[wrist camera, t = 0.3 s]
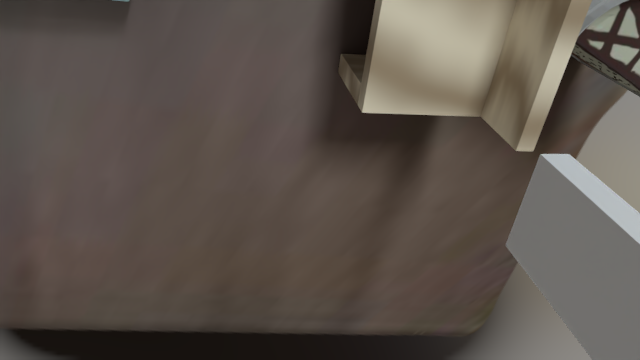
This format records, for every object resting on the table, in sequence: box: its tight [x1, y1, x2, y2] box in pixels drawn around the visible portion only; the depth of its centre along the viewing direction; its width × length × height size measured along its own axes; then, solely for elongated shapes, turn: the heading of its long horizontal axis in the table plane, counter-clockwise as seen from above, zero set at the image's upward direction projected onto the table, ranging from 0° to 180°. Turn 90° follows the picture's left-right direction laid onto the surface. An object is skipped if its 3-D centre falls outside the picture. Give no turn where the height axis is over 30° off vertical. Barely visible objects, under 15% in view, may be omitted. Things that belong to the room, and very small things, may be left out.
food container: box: [571, 0, 640, 97], centre depth 35 cm, size 12×6×10 cm, turn 59°
